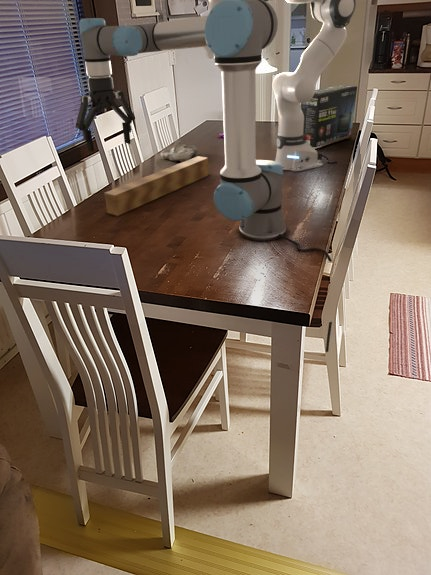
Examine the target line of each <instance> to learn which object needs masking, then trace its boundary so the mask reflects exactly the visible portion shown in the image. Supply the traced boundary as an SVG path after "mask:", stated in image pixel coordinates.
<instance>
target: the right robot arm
mask: <svg viewBox="0 0 431 575" xmlns="http://www.w3.org/2000/svg"><path fill="white" fill-rule="evenodd" d="M207 1H208V6H207V16H208V15H209V13H210V11H211V10H212V8H213V7H214V6H215V5H216V4H218V3H219V2H221V1H223V0H207ZM264 1H266V2H270V1H272V0H264ZM285 1H286V2H287V3H288V4H295V5H299V4H300V5H301V4H308V3H309V4H310V14H311V16H312V19H313V20H314V21H316V22H317V23H321V24H322V25H321V26H322V27H321V29H320V31H319V33H318V34H317V35H316V36H315V37H314V39H313V40H312V41H311V42H310V43H309V45H308V46H307V48H306V49H305V50H304V51H303V53H302V54H301V56H300V62H299V64H298V66H297V68H296V69H295V71H294V72H290V71H284V72H281V73H278V74H277V75H276V76H275V77H273V81H272V83H271V88H272V91H273V94H274V96H275V100H276V102H275V103H276V109H277V115H278V120H277V121H278V122H277V123H278V124H277V125H278V128H277V134H276V154H275V159H274V161H275V162H278V163H280V164H281V165H282V167H284V168H283V171H292V172H301V171H306V170H311V169H314V168H320V167H323V166H324V165H323V164H324V163H323V161H322V160H323V158H325V159H326V163H327V164H328V165H329V164H330V165H333V164H337V163H338V161H336V160H335V161H332V162H331V161H329V157H328V156H327V155H324V154H323V152H322V151H320V150H317V149H316V150H315V149H314V148H313V147H311V146H310V145H309V144H308V143H307V142H306V140H310V136H309V135H305V134H303V127H304V114H303V112H302V109H301V103H306V102H308V101H310V100H311V99H312V98H313V96H314V93H315V90H316V85H317V82H318V81H319V79H320V77H321V75H322V73H323V72H324V70H325V69H326V68H327V67H328V65H329V64H330V63H331V62H332V60H333V59H334V58H335V57H336V56H337V55H338V52H339V51H340V50H341V48H342V47H343V45H344V43H345V41H346V40H347V36H348V32H347V29H346V27H347V26H348V25H349V24H350V22H351V19H352V17H353V16H354V13H355V10H356V6H357V2H356V0H285ZM212 54H213V60H214V61H215V54H214V53H213V52H212ZM318 160H320V161H322V162H319V163H323V164H321V165H316V166H312V167H307V168H302V169H300V168H298V167H300V166H304V165H309V164H313V163H317V162H318ZM327 160H328V161H329V162H327ZM296 167H297V169H296ZM290 168H293V169H290Z"/></svg>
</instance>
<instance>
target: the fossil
mask: <svg viewBox="0 0 431 575" xmlns="http://www.w3.org/2000/svg"><path fill="white" fill-rule="evenodd" d="M198 153H199V150H198V148H197V146H195V145H188V146H187V145H186V143H184V142H183V143H181V142H176V143H175V145H174V146H173V147H172V148H171V149H170V150H168V149H165V150H162V151H161V152H160V156H161V158H162V159H163V160H169V161H174V162H177V161H179V162H180V163H182V162H185V161H187V160H190V159H192V157H193V156H194V155H197V154H198Z"/></svg>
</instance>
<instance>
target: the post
mask: <svg viewBox="0 0 431 575" xmlns="http://www.w3.org/2000/svg"><path fill="white" fill-rule="evenodd" d="M209 170H210V169H209V157H205V156H199V155H198V156H195V157H193V158H192V157H191V158H190V159H188V160H186V161H185V162H180V163H177V164H174V165H172V166H169V167H167V168H163V169H161V170H158V171H157V172H154V173H152V174H149V175H146V176H144V177H141V178H138V179H136V180H134V181H131V182H127V183H126V184H123V185H120V186H118V187H116V188H112V189H111V190H108V191H105V192H104V193H103V195H104V200H105V207H106V212H107V214H109V215H113V216H117V217H119V216H121V215H123V214H125V213H127V212H130V211H132V210H134V209H136V208H139V207H141V206H143V205H146V204H148V203H150V202H152V201H155V200H157V199H159V198H161V197H164V196H165V195H168V194H170V193H172V192H174V191H177V190H179V189H181V188H184V187H186V186H188V185H190V184H192V183H194V182H197V181H199V180H201V179H203V178H206V177H208V176H210V172H209Z"/></svg>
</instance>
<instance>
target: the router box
mask: <svg viewBox="0 0 431 575" xmlns="http://www.w3.org/2000/svg"><path fill="white" fill-rule="evenodd" d="M357 93H358V86H356V85H350V84H339V85H338V84H337V85H334V86H328V87H324V88H318V89H315V93H314V96H313V98H312V99H311V100H310V101H308V102H306V103H300V105H301V109H302V112H303V114H304V127H303V134H305V135H309V136H310V140H306V142H307V143H308V144H309V145H310V146H311V147H317V146H320V145H323V144H325V143H328V142H331V141H333V140H336V139H338V138H341V137H344V136H347V135H351V136H352V133H353V132H352V131H353V125H354V115H355V109H356V99H357Z"/></svg>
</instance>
